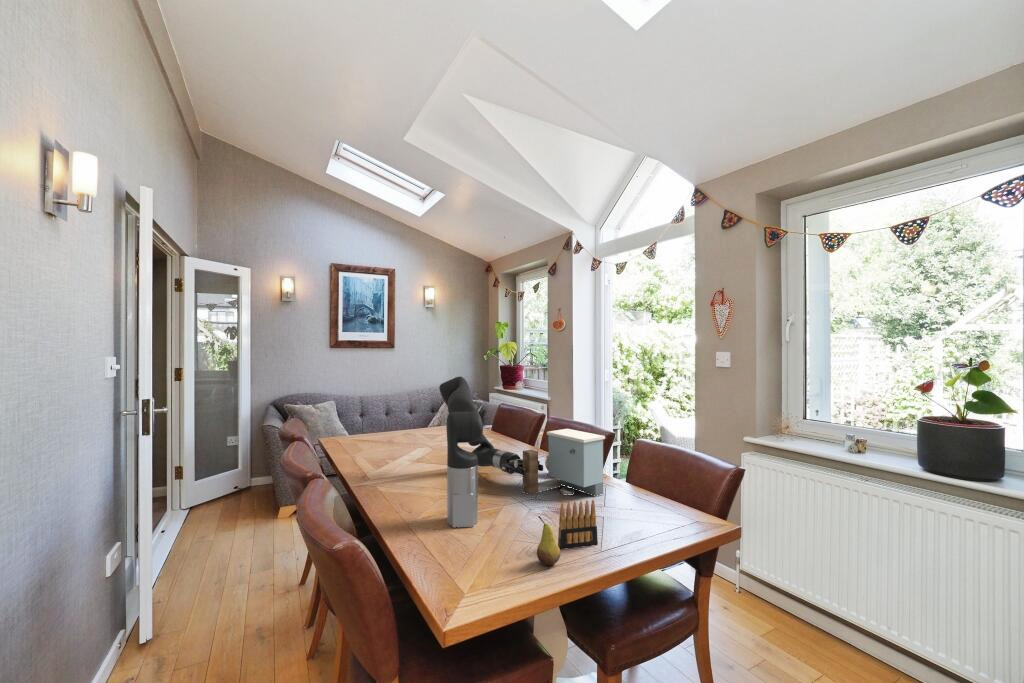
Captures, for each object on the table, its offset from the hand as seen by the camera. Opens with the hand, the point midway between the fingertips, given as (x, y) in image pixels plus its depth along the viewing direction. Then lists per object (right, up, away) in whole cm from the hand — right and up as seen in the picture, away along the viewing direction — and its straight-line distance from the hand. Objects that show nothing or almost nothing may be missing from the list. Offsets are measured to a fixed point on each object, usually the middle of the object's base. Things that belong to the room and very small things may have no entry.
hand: (533, 470), depth 166 cm
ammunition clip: (+10, -8, -43) cm, 45 cm away
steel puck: (+12, -9, 0) cm, 15 cm away
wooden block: (+3, -9, +5) cm, 10 cm away
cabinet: (+15, -9, +3) cm, 18 cm away
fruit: (+1, -8, -54) cm, 54 cm away
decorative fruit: (+11, -9, +22) cm, 26 cm away
